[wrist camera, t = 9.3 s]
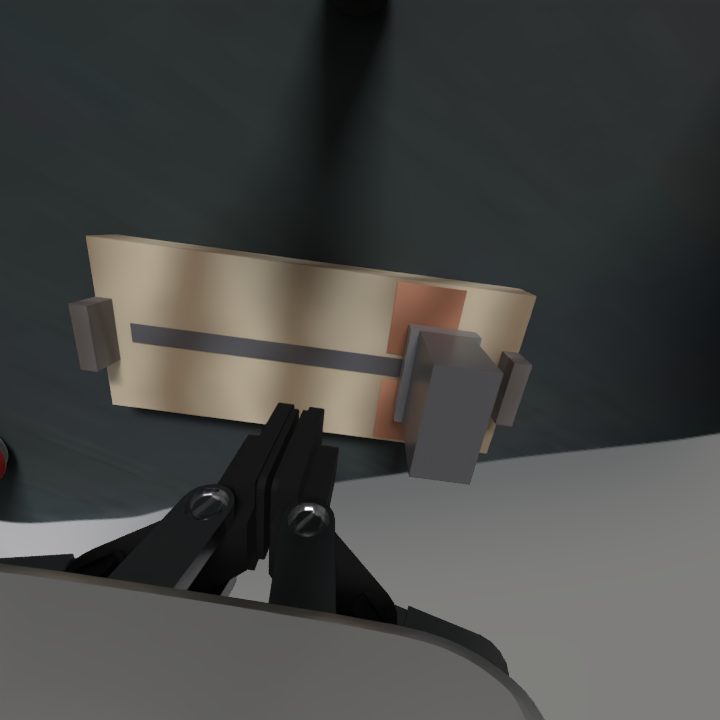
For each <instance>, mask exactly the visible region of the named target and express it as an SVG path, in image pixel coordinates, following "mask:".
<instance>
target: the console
mask: <svg viewBox="0 0 720 720" xmlns="http://www.w3.org/2000/svg"><path fill="white" fill-rule="evenodd" d="M86 240H87V247H88V253H89V259H90V265H91V271H92V278H93V284H94V290H95V296H96V297H92V298H88V299H85V300H81V301H77V302H73V303H69V310H70V315H71V320H72V325H73V330H74V336H75V341H76V346H77V351H78V357H79V362H80V367H81V370H88V371H96V372H98V371H100V370H102V369H104V368H106V367H107V371H108V377H109V383H110V389H111V396H112V402H113V404H114V405H122V406H129V407H137V408H144V409H152V410H160V411H167V412H175V413H182V414H190V415H198V416H205V417H213V418H221V419H228V420H236V421H243V422H251V423H259V424H266V423H267V421H268V420H269V418H270V416H271V414H272V413H273V411H274V409H275V407H276V406H277V404H278V403H279V402H281V403H288V404H294V407H295V409H299V418H300V416H301V413H302V411H303V410H308V409H309V407H315V408H322V409H324V411H325V412H324V423H323V432H327V433H335V434H343V435H350V436H358V437H365V438H373V439H381V440H388V441H396V442H403V443H405V442H404V434H403V427H402V422H398V421H394V416H393V409H394V404H395V398H396V393H397V387H398V382H399V377H400V371H401V366H402V360H403V355H404V350H405V344H406V339H407V333H408V328H409V324H416V325H424V326H431V327H439V328H446V329H454V330H461V331H469V332H476V333H477V334H478V335H479V336H480V337H481V338H482V340H481V344H480V346H481V348H482V349H483V350H484V351H485V352H486V354H487V355H488V356H489V357H490V358H491V359H492V361H493V362H494V363H495V364H496V365H497V367H498V368H499V369H500V370H501V371H502V373H503V377H502V381H501V384H500V387H499V390H498V394H497V397H496V400H495V403H494V407H493V410H492V413H491V416H490V420H489V423H488V426H487V429H486V433H485V436H484V439H483V442H482V446H481V449H480V453H487V451H488V448H489V445H490V442H491V438H492V435H493V432H494V429H495V426H496V424H498V425H506V426H512V424H513V421H514V418H515V415H516V412H517V409H518V406H519V403H520V400H521V398H522V395H523V392H524V389H525V386H526V383H527V380H528V377H529V374H530V371H531V368H532V365H531V364H530V363H529V362H528V361H527V360H526V359H525V358H524V357H523V356H521V355H520V354H519V350H520V347H521V344H522V341H523V338H524V334H525V331H526V328H527V325H528V322H529V319H530V316H531V312H532V309H533V306H534V303H535V300H536V297H537V296H534V295H532V294H530V293H528V292H526V291H524V290H521V289H518V288H511V287H503V286H496V285H488V284H481V283H473V282H466V281H459V280H451V279H444V278H436V277H429V276H421V275H414V274H406V273H399V272H392V271H384V270H377V269H369V268H362V267H354V266H347V265H339V264H332V263H325V262H317V261H310V260H302V259H295V258H287V257H280V256H272V255H265V254H258V253H250V252H243V251H235V250H228V249H220V248H213V247H205V246H198V245H191V244H183V243H176V242H168V241H161V240H153V239H146V238H138V237H131V236H124V235H95V236H86Z"/></svg>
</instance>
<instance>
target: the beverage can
mask: <svg viewBox="0 0 720 720" xmlns="http://www.w3.org/2000/svg"><path fill="white" fill-rule="evenodd" d="M7 461H8V450H7V447H6V445H5V444H4V442H3V441H2V440H1V438H0V480H1V478H2V477H3V476H4V474H5V471H6V464H7Z"/></svg>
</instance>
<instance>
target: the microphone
mask: <svg viewBox="0 0 720 720" xmlns="http://www.w3.org/2000/svg"><path fill="white" fill-rule="evenodd" d="M332 1H333V3H334V4H335V5H336V6H337V7H338V8H339V9H340V10H342V11H343V12H345V13H347V14H349V15H352V16H358V17H359V16H367V15H369V14H372V13H374V12H375V11H377V10H379V9H380V8H381V7H382V6H383V5H384V4H385V3H386V1H387V0H332Z"/></svg>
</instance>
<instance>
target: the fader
mask: <svg viewBox="0 0 720 720" xmlns="http://www.w3.org/2000/svg"><path fill="white" fill-rule="evenodd" d="M481 340H482V338H481V337H480V336H479V335H478V334H477V333H476V332H469V331H461V330H454V329H446V328H439V327H431V326H424V325H416V324H409V328H408V333H407V339H406V344H405V350H404V355H403V360H402V366H401V371H400V377H399V382H398V387H397V393H396V398H395V404H394V409H393V416H394V421H398V422H402V427H403V434H404V442H405V450H406V457H407V465H408V473H409V477H416V478H424V479H432V480H440V481H447V482H454V483H462V484H470V481H471V478H472V475H473V472H474V468H475V465H476V462H477V459H478V455H479V452H480V449H481V446H482V442H483V439H484V436H485V433H486V429H487V426H488V423H489V420H490V416H491V413H492V410H493V407H494V403H495V400H496V397H497V394H498V390H499V387H500V384H501V381H502V377H503V373H502V371H501V370H500V369H499V368H498V367H497V365H496V364H495V363H494V362H493V361H492V359H491V358H490V357H489V356H488V355H487V354H486V352H485V351H484V350H483V349H482V348H481V346H480V344H481Z"/></svg>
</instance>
